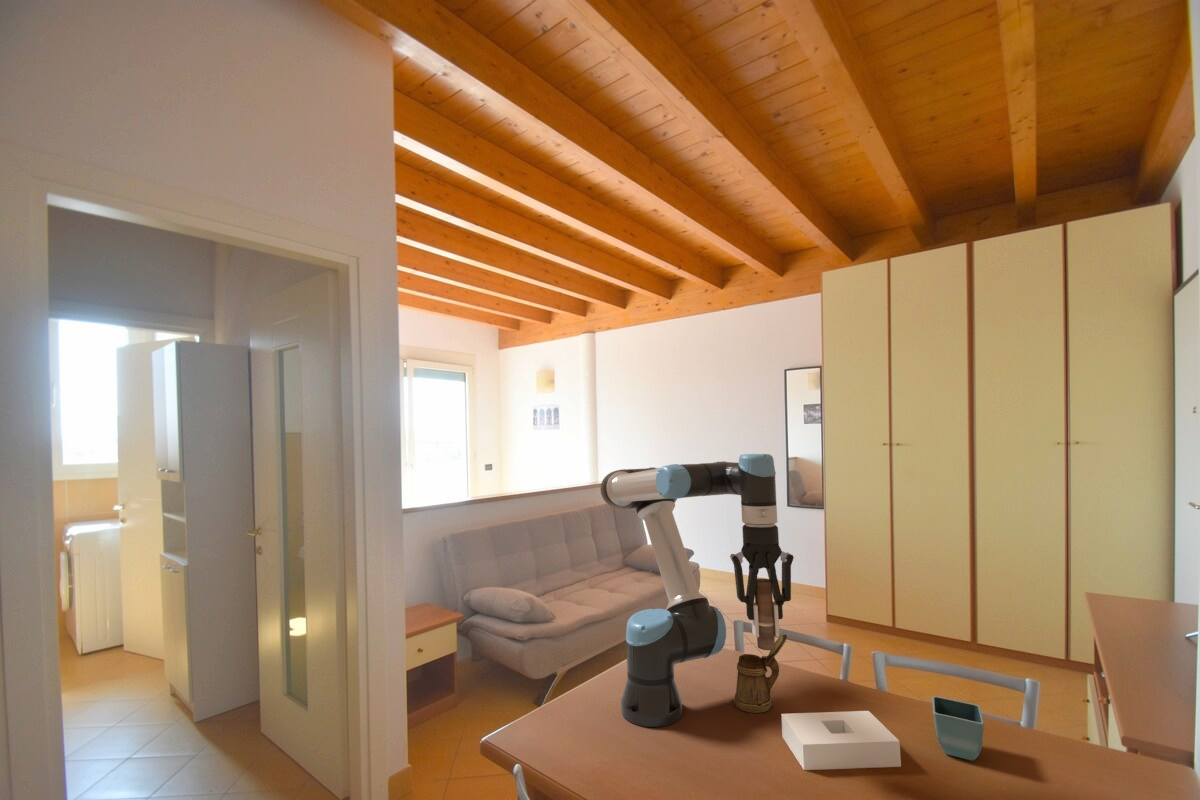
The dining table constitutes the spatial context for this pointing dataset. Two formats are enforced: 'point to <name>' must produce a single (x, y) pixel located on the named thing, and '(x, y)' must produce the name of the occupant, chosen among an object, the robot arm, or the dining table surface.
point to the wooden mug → (757, 680)
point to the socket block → (840, 740)
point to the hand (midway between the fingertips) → (765, 634)
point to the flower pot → (958, 727)
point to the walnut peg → (765, 614)
